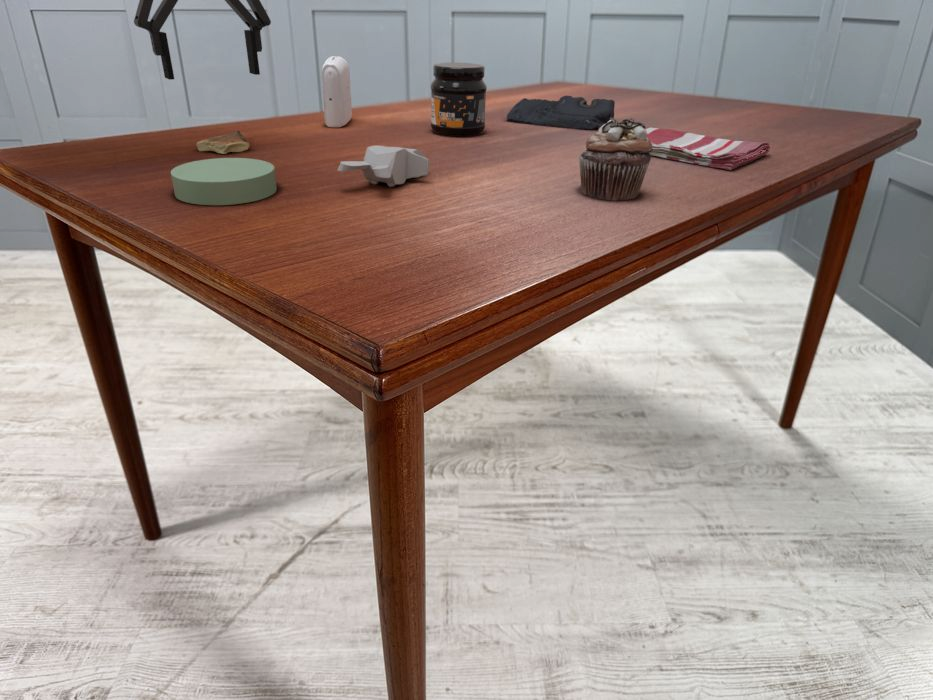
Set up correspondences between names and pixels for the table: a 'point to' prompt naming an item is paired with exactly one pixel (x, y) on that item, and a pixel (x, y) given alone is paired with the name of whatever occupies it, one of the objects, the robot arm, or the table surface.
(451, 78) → the supplement container
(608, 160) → the cupcake
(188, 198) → the disc
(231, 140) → the shard
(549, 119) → the dark slate chunk
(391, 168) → the grey faceted piece
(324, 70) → the photo printer
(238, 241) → the table surface
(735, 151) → the dish towel
